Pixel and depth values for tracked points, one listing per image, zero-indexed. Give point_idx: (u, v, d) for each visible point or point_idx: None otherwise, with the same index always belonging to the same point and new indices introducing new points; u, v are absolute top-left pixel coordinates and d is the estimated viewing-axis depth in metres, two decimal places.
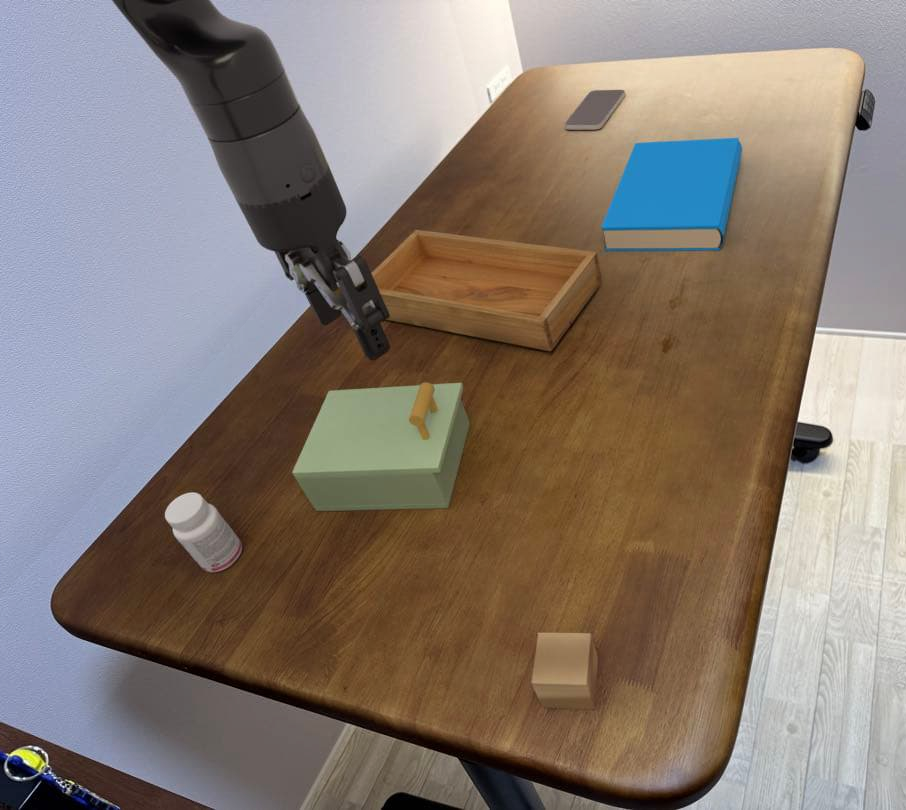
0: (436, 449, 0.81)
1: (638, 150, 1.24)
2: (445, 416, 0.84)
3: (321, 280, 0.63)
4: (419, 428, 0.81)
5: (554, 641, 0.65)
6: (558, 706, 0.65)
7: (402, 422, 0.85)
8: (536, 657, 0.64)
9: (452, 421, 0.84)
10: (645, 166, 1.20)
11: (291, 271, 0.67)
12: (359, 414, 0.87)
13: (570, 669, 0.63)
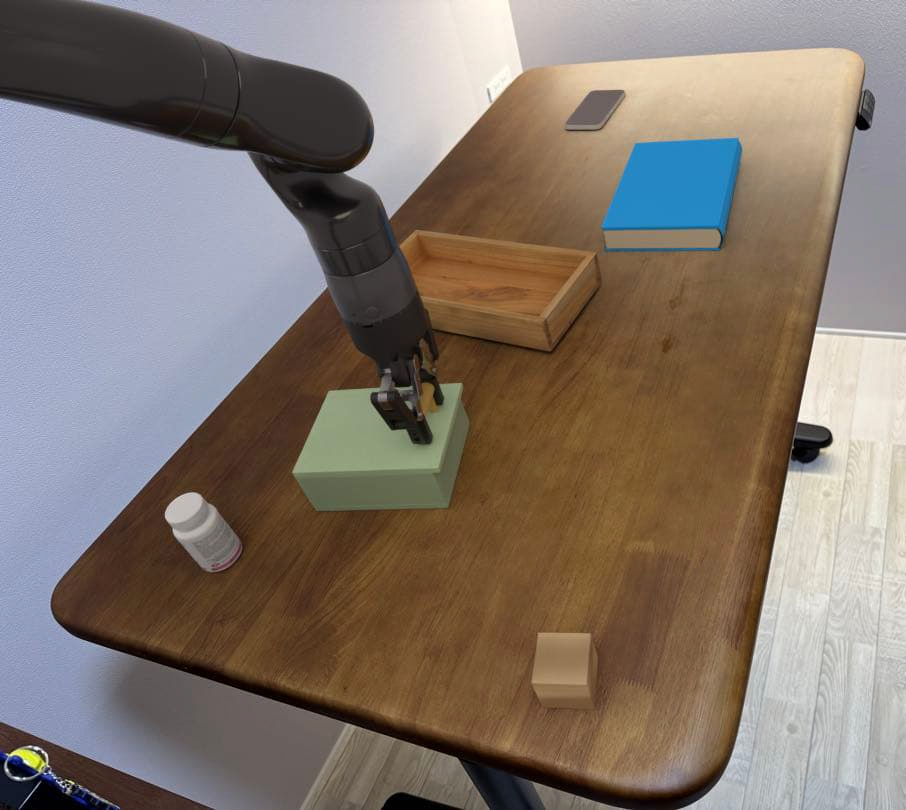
0: (436, 449, 0.81)
1: (638, 150, 1.24)
2: (445, 416, 0.84)
3: None
4: None
5: (554, 641, 0.65)
6: (558, 706, 0.65)
7: None
8: (536, 657, 0.64)
9: (452, 421, 0.84)
10: (645, 166, 1.20)
11: None
12: (359, 414, 0.87)
13: (570, 669, 0.63)
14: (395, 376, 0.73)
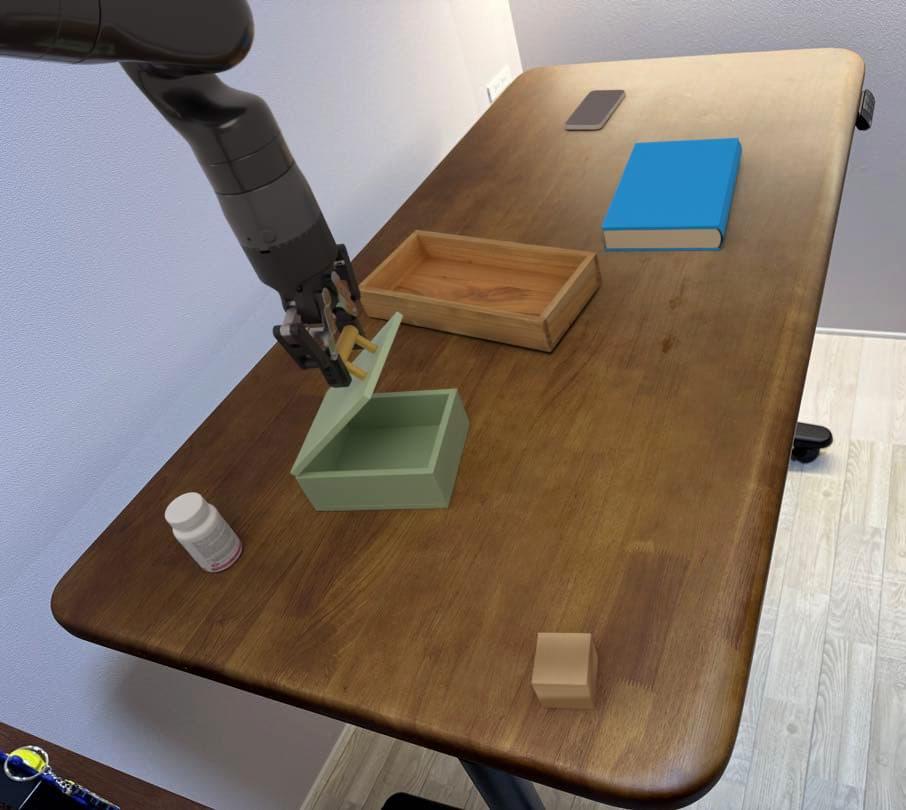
0: (366, 380, 0.75)
1: (638, 150, 1.24)
2: (379, 348, 0.78)
3: None
4: None
5: (554, 641, 0.65)
6: (558, 706, 0.65)
7: (355, 377, 0.81)
8: (536, 657, 0.64)
9: (385, 348, 0.77)
10: (645, 166, 1.20)
11: None
12: (336, 394, 0.85)
13: (570, 669, 0.63)
14: (300, 308, 0.69)
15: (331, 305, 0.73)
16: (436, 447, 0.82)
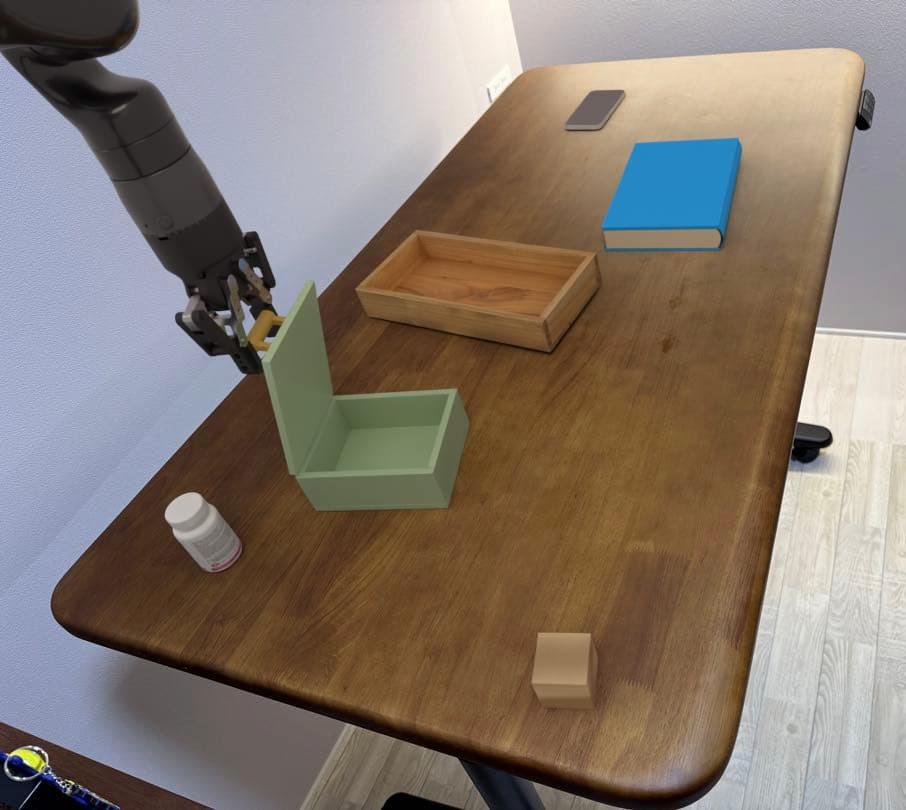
0: None
1: (638, 150, 1.24)
2: None
3: None
4: (263, 349, 0.76)
5: (554, 641, 0.65)
6: (558, 706, 0.65)
7: None
8: (536, 657, 0.64)
9: (290, 314, 0.76)
10: (645, 166, 1.20)
11: None
12: None
13: (570, 669, 0.63)
14: (204, 295, 0.69)
15: (240, 292, 0.74)
16: (436, 447, 0.82)
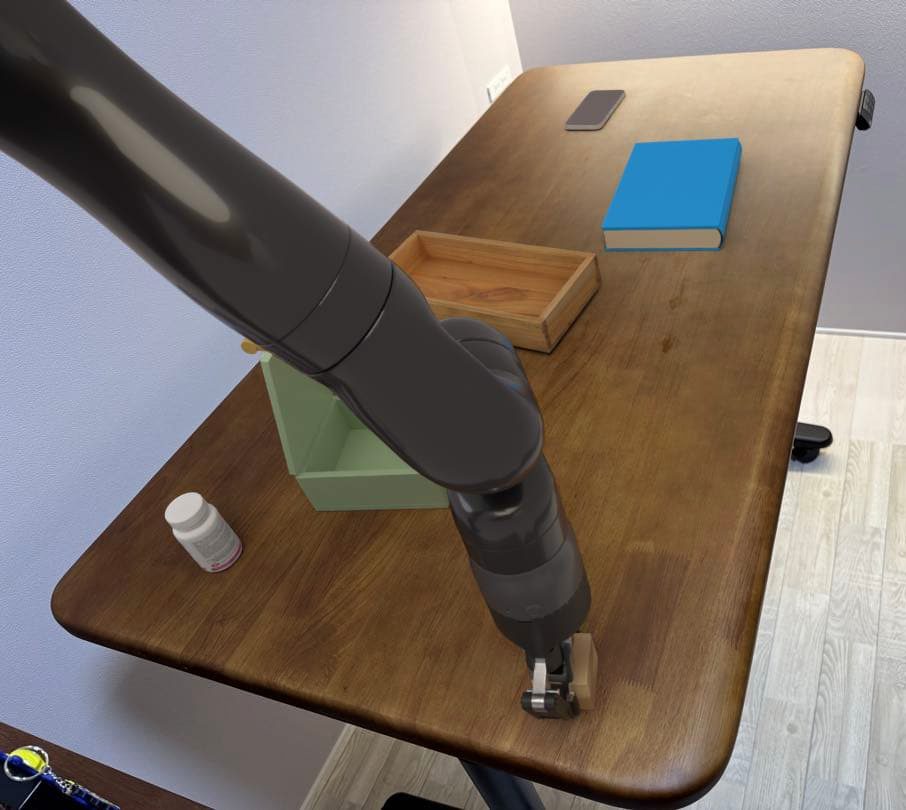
0: None
1: (638, 150, 1.24)
2: None
3: None
4: (262, 349, 0.76)
5: None
6: None
7: None
8: None
9: None
10: (645, 166, 1.20)
11: None
12: None
13: None
14: (551, 669, 0.56)
15: None
16: None
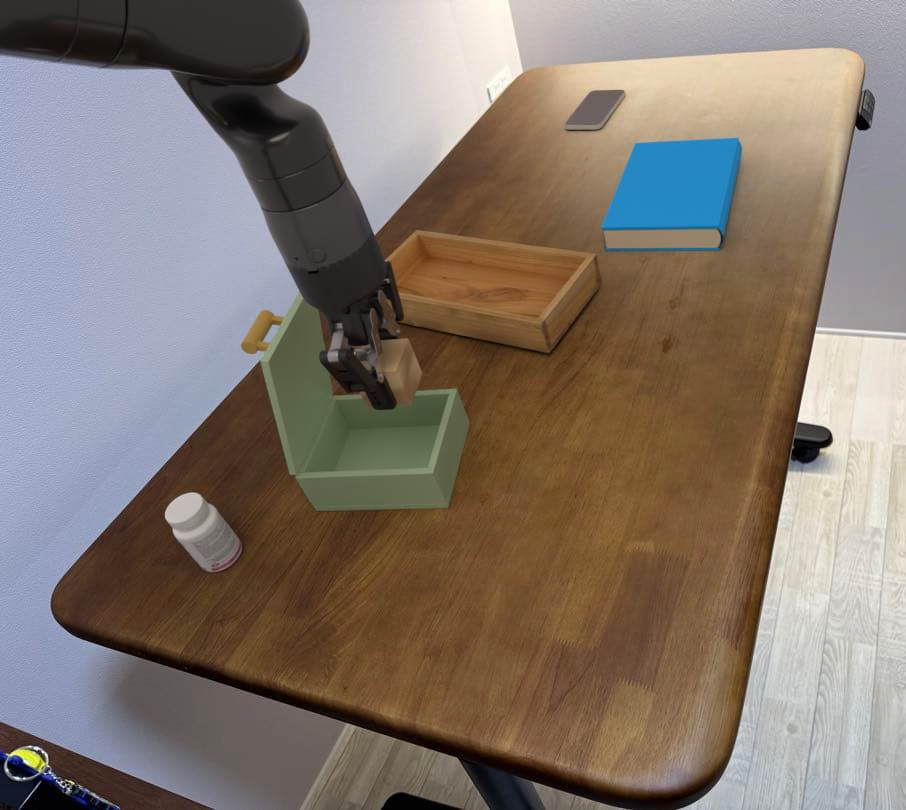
0: None
1: (638, 150, 1.24)
2: None
3: None
4: (262, 349, 0.76)
5: None
6: None
7: None
8: None
9: (289, 314, 0.76)
10: (645, 166, 1.20)
11: None
12: None
13: (384, 362, 0.71)
14: (348, 332, 0.65)
15: (377, 326, 0.69)
16: (436, 447, 0.82)
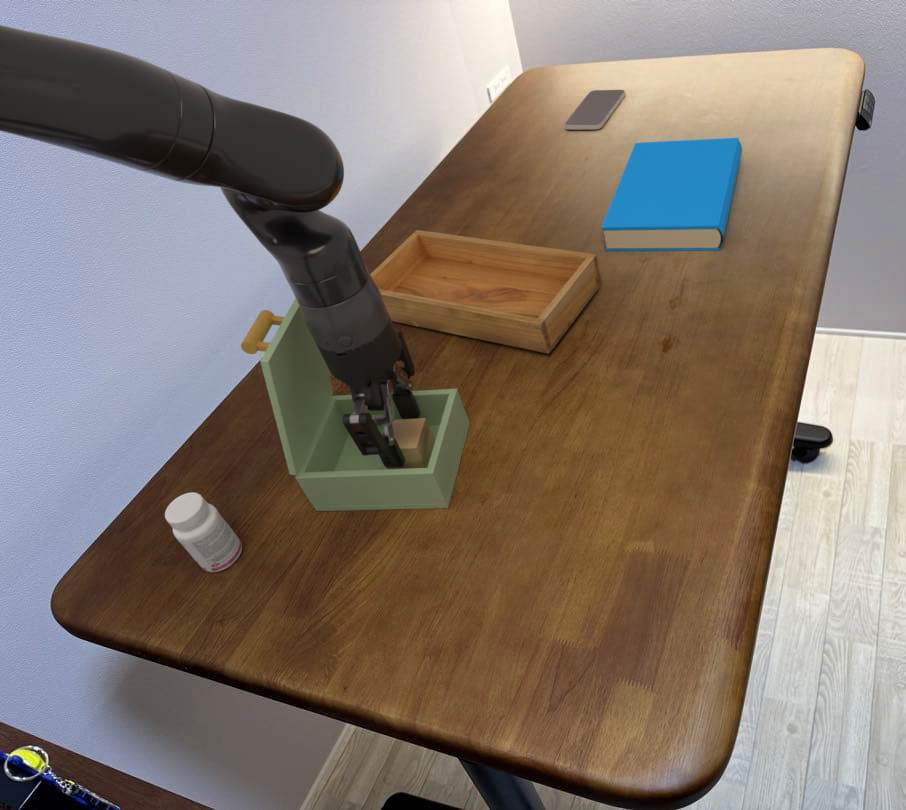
0: None
1: (638, 150, 1.24)
2: None
3: None
4: (262, 349, 0.76)
5: (398, 424, 0.87)
6: None
7: None
8: None
9: (289, 314, 0.76)
10: (645, 166, 1.20)
11: None
12: None
13: (406, 440, 0.85)
14: (368, 400, 0.76)
15: None
16: (436, 447, 0.82)
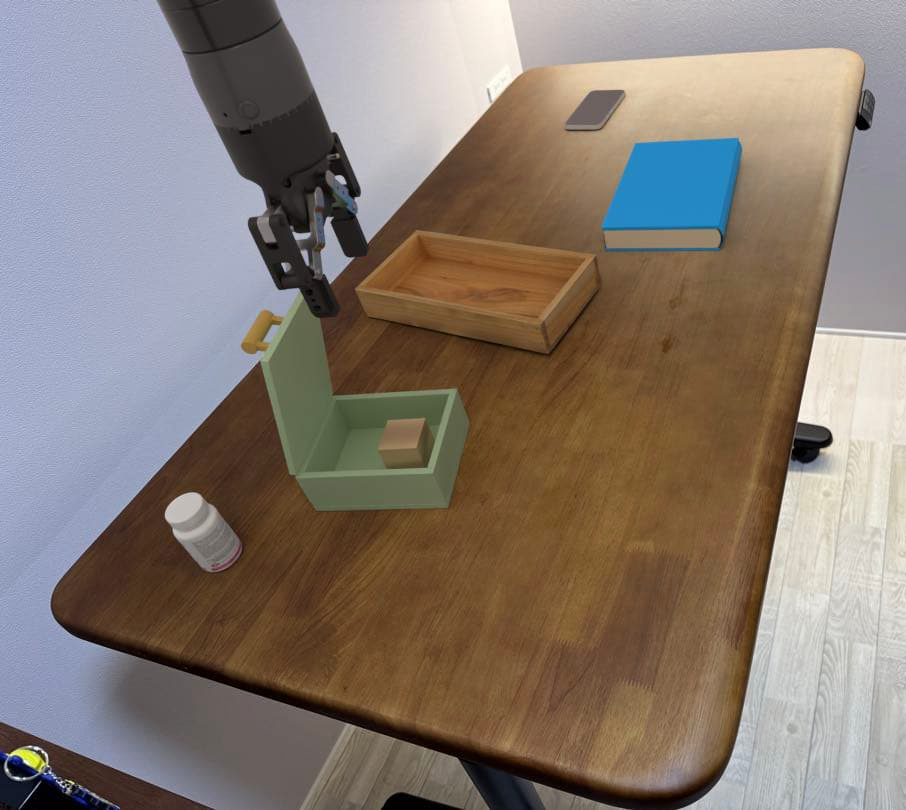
0: None
1: (638, 150, 1.24)
2: None
3: None
4: (262, 349, 0.76)
5: (398, 424, 0.87)
6: None
7: None
8: (383, 434, 0.86)
9: (289, 314, 0.76)
10: (645, 166, 1.20)
11: None
12: None
13: (406, 440, 0.85)
14: (287, 204, 0.57)
15: (325, 212, 0.61)
16: (436, 447, 0.82)
